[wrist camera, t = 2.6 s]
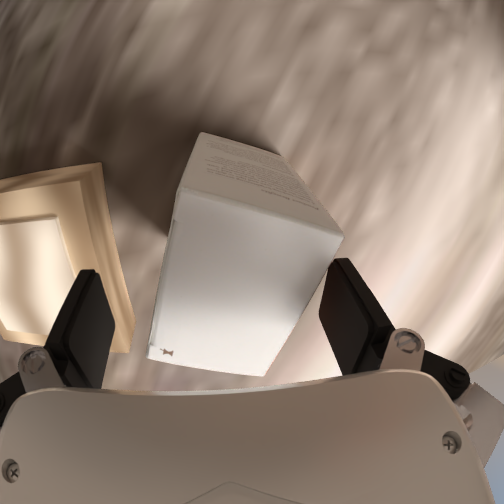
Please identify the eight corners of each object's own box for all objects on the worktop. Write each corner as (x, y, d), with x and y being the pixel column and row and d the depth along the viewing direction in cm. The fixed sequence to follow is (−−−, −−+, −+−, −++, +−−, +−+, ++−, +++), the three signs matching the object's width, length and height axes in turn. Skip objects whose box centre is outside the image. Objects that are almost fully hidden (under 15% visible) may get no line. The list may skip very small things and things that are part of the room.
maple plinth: (101, 162, 17) (76, 183, 13) (136, 321, 24) (128, 356, 21) (-32, 187, 15) (-60, 208, 12) (17, 314, 23) (2, 342, 19)
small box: (244, 257, 22) (264, 381, 13) (169, 239, 20) (143, 362, 12) (286, 154, 18) (352, 237, 9) (199, 128, 17) (177, 187, 8)
